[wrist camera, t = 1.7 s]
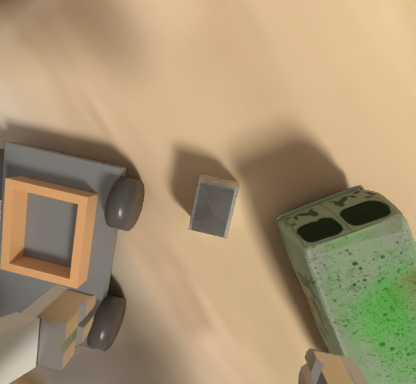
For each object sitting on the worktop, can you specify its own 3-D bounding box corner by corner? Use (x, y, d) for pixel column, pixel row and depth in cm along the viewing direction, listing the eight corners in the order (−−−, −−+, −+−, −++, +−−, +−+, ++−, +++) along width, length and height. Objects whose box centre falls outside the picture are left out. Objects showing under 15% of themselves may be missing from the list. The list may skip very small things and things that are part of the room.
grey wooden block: (227, 227, 31) (226, 241, 26) (193, 219, 31) (186, 232, 26) (237, 181, 30) (239, 187, 25) (202, 173, 30) (197, 178, 25)
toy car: (335, 375, 33) (379, 470, 23) (268, 212, 30) (287, 243, 20) (416, 353, 31) (501, 446, 22) (354, 179, 28) (419, 195, 19)
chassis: (121, 332, 35) (99, 370, 29) (5, 302, 36) (-40, 332, 30) (148, 169, 30) (129, 174, 24) (15, 139, 31) (-35, 137, 25)
